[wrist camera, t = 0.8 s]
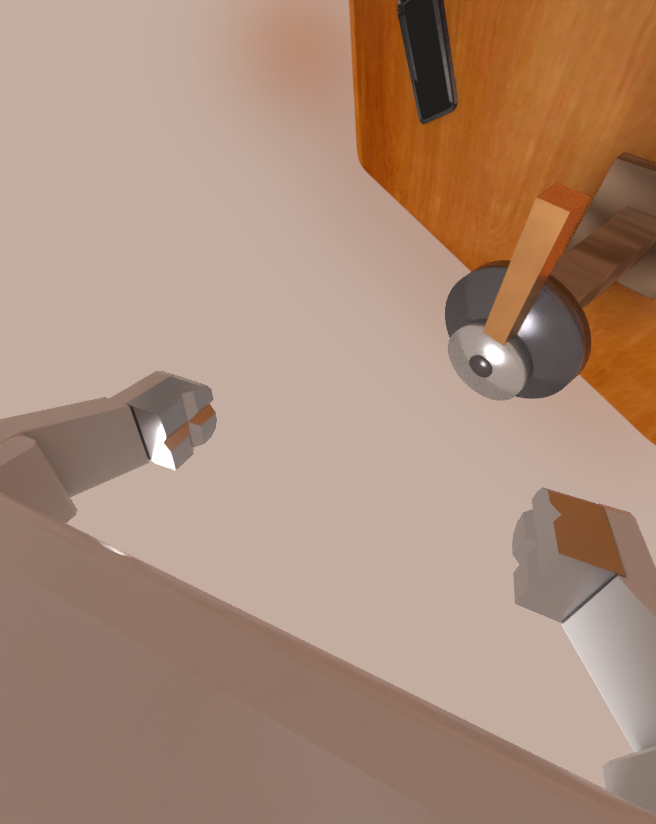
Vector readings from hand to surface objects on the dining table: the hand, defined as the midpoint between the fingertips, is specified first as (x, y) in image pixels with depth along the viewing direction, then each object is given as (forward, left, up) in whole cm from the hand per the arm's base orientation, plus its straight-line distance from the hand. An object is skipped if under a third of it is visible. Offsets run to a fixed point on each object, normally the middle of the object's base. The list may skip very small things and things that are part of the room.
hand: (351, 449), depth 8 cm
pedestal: (+23, +9, -52) cm, 58 cm away
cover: (+20, +7, -26) cm, 33 cm away
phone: (+40, -26, -52) cm, 71 cm away
